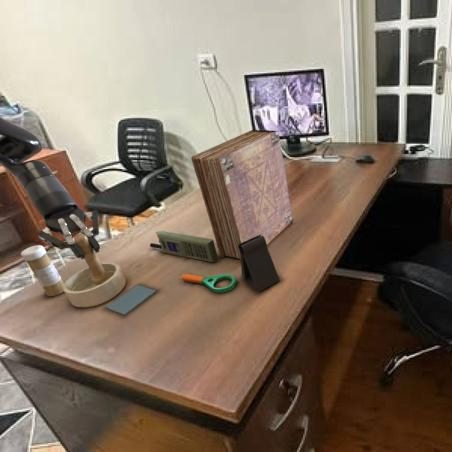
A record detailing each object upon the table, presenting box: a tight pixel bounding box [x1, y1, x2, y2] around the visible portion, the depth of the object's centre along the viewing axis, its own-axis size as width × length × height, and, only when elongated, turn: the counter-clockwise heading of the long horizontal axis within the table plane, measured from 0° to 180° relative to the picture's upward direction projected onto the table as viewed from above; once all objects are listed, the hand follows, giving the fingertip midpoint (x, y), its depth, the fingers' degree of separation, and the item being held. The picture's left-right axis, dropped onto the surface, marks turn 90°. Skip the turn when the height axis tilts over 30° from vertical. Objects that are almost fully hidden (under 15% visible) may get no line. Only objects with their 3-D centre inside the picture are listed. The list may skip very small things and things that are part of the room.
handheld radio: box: [149, 230, 219, 263], centre depth 102 cm, size 7×3×25 cm
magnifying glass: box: [181, 273, 237, 294], centre depth 90 cm, size 15×6×2 cm, turn 72°
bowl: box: [63, 261, 127, 308], centre depth 90 cm, size 13×13×5 cm
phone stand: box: [238, 234, 280, 293], centre depth 87 cm, size 9×6×12 cm, turn 40°
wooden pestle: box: [73, 233, 111, 285], centre depth 88 cm, size 4×4×14 cm
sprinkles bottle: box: [20, 244, 65, 297], centre depth 90 cm, size 5×5×13 cm
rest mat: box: [105, 284, 157, 316], centre depth 87 cm, size 9×7×1 cm
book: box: [190, 129, 294, 260], centre depth 101 cm, size 25×9×30 cm, turn 154°
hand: (90, 254), depth 86 cm, fingers closed on wooden pestle, 2 cm apart
